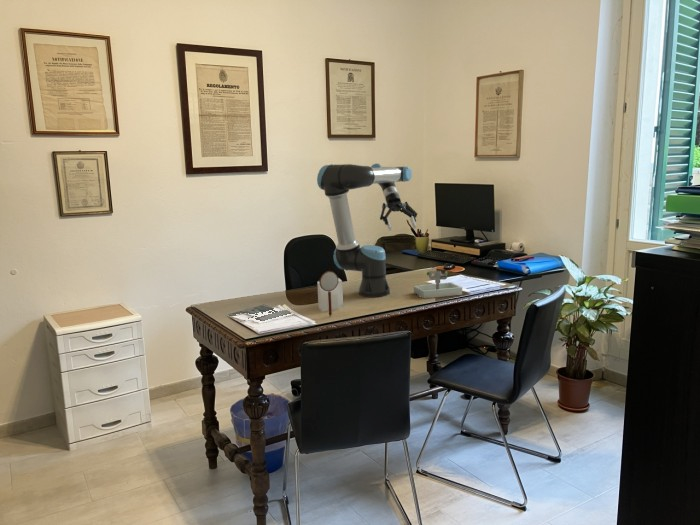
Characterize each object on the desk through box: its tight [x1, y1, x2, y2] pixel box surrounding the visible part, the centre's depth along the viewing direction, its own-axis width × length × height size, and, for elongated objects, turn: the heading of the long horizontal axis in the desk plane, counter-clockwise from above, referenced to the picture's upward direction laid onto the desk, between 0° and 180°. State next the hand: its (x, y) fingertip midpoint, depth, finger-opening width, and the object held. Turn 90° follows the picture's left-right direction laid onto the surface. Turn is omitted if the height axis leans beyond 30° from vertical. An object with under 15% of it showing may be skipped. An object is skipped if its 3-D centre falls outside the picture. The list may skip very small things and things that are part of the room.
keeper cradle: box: [413, 281, 463, 299], centre depth 270 cm, size 20×12×4 cm, turn 106°
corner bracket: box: [316, 277, 344, 313], centre depth 252 cm, size 11×11×12 cm
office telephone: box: [227, 303, 292, 321], centre depth 244 cm, size 23×3×20 cm
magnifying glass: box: [318, 270, 339, 318], centre depth 236 cm, size 9×2×20 cm, turn 116°
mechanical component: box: [426, 270, 450, 290], centre depth 269 cm, size 3×10×10 cm, turn 89°
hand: (402, 228), depth 286 cm, fingers open, 13 cm apart
